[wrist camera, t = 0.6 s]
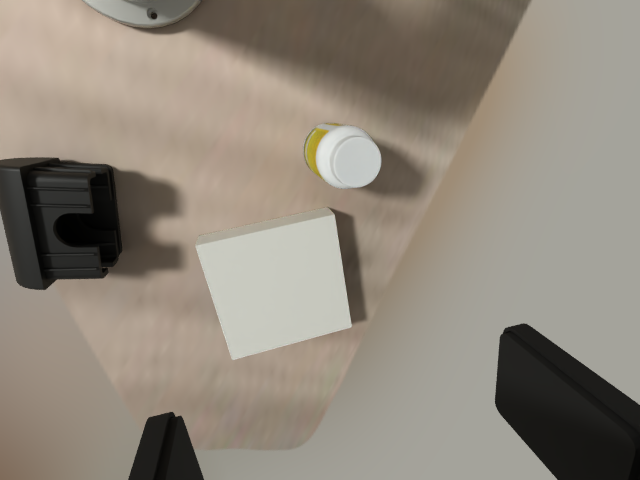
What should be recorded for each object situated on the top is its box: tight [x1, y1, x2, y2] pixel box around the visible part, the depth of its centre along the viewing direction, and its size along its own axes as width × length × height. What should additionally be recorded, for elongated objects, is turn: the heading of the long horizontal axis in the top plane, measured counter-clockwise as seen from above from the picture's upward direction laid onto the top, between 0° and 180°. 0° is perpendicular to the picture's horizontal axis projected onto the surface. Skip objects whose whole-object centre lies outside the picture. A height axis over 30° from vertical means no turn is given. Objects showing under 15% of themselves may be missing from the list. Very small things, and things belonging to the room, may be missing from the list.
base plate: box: [195, 207, 352, 360], centre depth 38 cm, size 14×14×3 cm
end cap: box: [0, 158, 122, 290], centre depth 30 cm, size 10×7×7 cm
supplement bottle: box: [303, 123, 381, 189], centre depth 32 cm, size 5×5×10 cm
